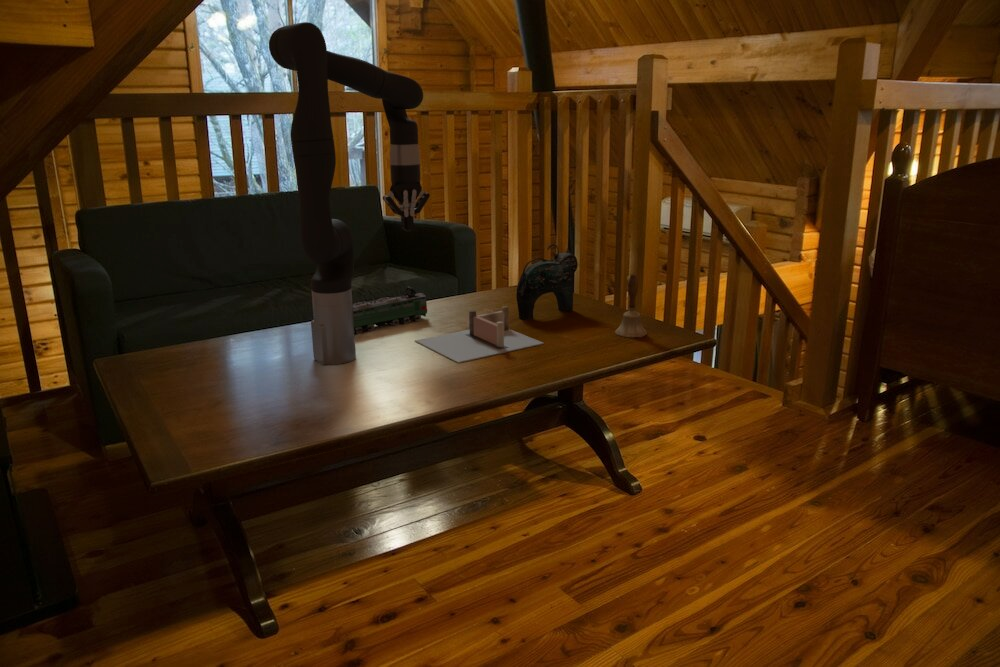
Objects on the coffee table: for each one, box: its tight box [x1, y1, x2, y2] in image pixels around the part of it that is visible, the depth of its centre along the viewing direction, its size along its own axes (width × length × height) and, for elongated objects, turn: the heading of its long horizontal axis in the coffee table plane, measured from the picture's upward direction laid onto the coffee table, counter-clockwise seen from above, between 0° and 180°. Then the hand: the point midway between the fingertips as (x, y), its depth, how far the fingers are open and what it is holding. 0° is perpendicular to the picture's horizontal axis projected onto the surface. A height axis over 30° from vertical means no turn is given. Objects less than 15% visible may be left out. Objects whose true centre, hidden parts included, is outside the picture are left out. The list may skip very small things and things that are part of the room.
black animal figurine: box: [515, 243, 578, 321], centre depth 223 cm, size 20×6×20 cm, turn 124°
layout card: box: [414, 328, 544, 364], centre depth 200 cm, size 26×21×1 cm
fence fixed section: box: [468, 305, 510, 336], centre depth 207 cm, size 12×2×6 cm, turn 125°
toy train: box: [352, 285, 428, 335], centre depth 213 cm, size 5×31×10 cm, turn 128°
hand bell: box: [614, 273, 648, 339], centre depth 205 cm, size 8×8×16 cm
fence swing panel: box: [473, 315, 504, 347], centre depth 198 cm, size 12×2×6 cm, turn 34°
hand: (407, 230), depth 203 cm, fingers closed
